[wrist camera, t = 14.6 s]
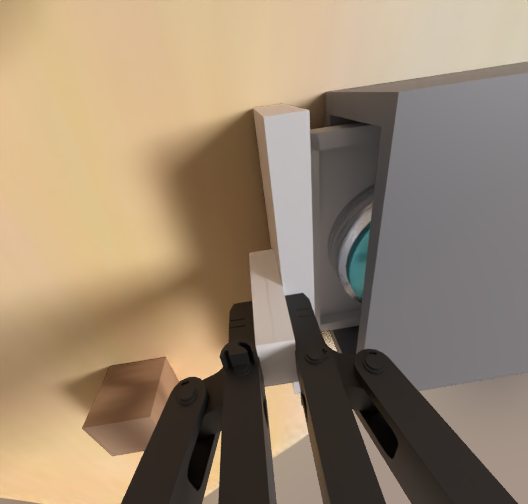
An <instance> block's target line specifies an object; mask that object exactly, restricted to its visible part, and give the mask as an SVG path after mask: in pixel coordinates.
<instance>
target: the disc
mask: <svg viewBox="0 0 528 504" xmlns="http://www.w3.org/2000/svg"><path fill="white" fill-rule="evenodd" d="M374 188H375V184H373V185H372V186H370V187H368V188H366V189H365V190H363V191H362V192H360V193H359V194H358V195H356V196H355V197H354V198H353V199H352V200H351V201H350V202H349V203H348V204H347V205H346V206H345V207H344V208H343V210H342V211H341V212H340V214H339V215H338V217H337V218H336V220H335V222H334V224H333V226H332V228H331V231H330V234H329V238H328V257H329V261H330V264H331V266H332V267H333V269H334V271H335V273H336V275H337V276H338V278H339V280H340V282H341V284H342V285H343V287H344V289H345V291H346V292H347V293H348V294H349V295H350V296H351V297H352V298H353V299H355V300H356V301H358V302H360V303H362V297H363V288H364V279H365V269H366V260H367V251H368V242H369V233H370V224H371V215H372V206H373V197H374Z"/></svg>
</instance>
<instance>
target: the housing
mask: <svg viewBox="0 0 528 504" xmlns="http://www.w3.org/2000/svg"><path fill="white" fill-rule="evenodd" d="M357 122H362V123H367V124H371V125H375V126H379V127H381V133H380V142H379V151H378V160H377V170H376V179H375V188H374V197H373V206H372V215H371V224H370V233H369V242H368V251H367V260H366V269H365V279H364V288H363V297H362V306H361V315H360V324H359V326H354V327H347V328H341V329H335V330H329V331H330V334H331V337H332V339H333V342H334V344H335V347H336V349H337V352H338V353H342V354H348V355H355V356H356V354H357V353H358V352H360V351H361V350H364V349H376V350H378V351H380V352H382V353H384V354H385V355H386V356H387V357H389V358H390V360H391V361H392V362H393V363H394V364H395V365H396V366H397V367H398V369H399V370H400V371H401V372H402V373H403V374H404V375H405V376H406V378H407V379H408V380H409V381H410V382H411V383H412V384H413V386H414V387H415V388H416V389H417V390H418V391H422V390H428V389H434V388H440V387H446V386H452V385H458V384H464V383H470V382H476V381H482V380H488V379H494V378H499V377H505V376H511V375H518V374H523V373H528V62H523V63H516V64H510V65H503V66H496V67H490V68H483V69H476V70H470V71H463V72H456V73H450V74H443V75H436V76H430V77H423V78H416V79H410V80H403V81H396V82H390V83H383V84H376V85H370V86H363V87H356V88H350V89H343V90H336V91H329V92H326V127H330V126H337V125H344V124H350V123H357Z"/></svg>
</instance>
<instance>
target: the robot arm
mask: <svg viewBox="0 0 528 504" xmlns="http://www.w3.org/2000/svg"><path fill="white" fill-rule="evenodd" d="M249 262H250V276H251V290H252V301H249V302H243V303H236V304H234V305H233V307H232V309H231V310H230V317H229V321H230V322H229V343H228V344H227V345H225V347H224V348H223V349H222V351H221V354H220V359H221V362H222V364H223V368H222V369H221V370H220V371H219V372H217V373H216V374H214V375H212V376H210V377H208V378H206V379H204V380H201V379H200V378H197V377H188V378H186V379H184V380H182V381H180V382H179V383H178V384H177V385H176V386H175V387H174V388H173V390H172V392H171V393H170V396H169V398H168V400H167V402H166V404H165V407H164V409H163V411H162V413H161V416H160V418H159V420H158V422H157V425H156V427H155V429H154V431H153V433H152V436H151V438H150V440H149V442H148V445H147V447H146V449H145V451H144V454H143V456H142V458H141V460H140V462H139V465H138V467H137V469H136V471H135V474H134V476H133V478H132V480H131V483H130V485H129V487H128V489H127V491H126V494H125V496H124V498H123V500H122V503H121V504H202V501H203V498H204V494H205V490H206V486H207V482H208V478H209V474H210V470H211V466H212V462H213V458H214V455H215V451H216V447H217V443H218V439H219V435H220V431H222V436H221V458H220V481H219V504H277V503H276V493H275V483H274V473H273V463H272V451H271V441H270V431H269V421H268V410H267V401H266V396H265V388H264V387H266V386H273V385H279V384H286V383H292V382H298V381H299V385H300V392H301V404H302V405H303V408H304V413H305V418H306V423H307V428H308V432H309V437H310V442H311V447H312V451H313V456H314V461H315V466H316V470H317V476H318V480H319V485H320V489H321V495H322V499H323V504H386V503H385V500H384V497H383V494H382V491H381V489H380V486H379V483H378V480H377V477H376V475H375V472H374V469H373V466H372V464H371V461H370V458H369V455H368V453H367V450H366V447H365V444H364V441H363V439H362V436H361V433H360V430H359V428H358V425H357V422H356V419H355V417H354V414H353V411H352V409H353V410H354V411H355V413H356V414H357V416H358V418H359V419H360V421H361V423H362V424H363V426H364V427H365V429H366V431H367V432H368V434H369V435H370V437H371V439H372V440H373V442H374V444H375V445H376V447H377V448H378V450H379V452H380V453H381V455H382V457H383V458H384V460H385V461H386V463H387V465H388V466H389V468H390V470H391V471H392V473H393V474H394V476H395V477H396V479H397V481H398V482H399V484H400V486H401V487H402V489H403V491H404V492H405V494H406V495H407V497H408V499H409V500H410V502H411V503H412V504H518V503H517V502H516V501H515V500H514V499H513V498H512V496H511V495H510V494H509V493H508V492H507V491H506V490H505V488H503V486H502V485H501V484H500V483H499V482H498V480H497V479H496V478H495V477H494V476H493V475H492V474H491V473H490V472H489V470H488V469H487V468H486V467H485V466H484V465H483V464H482V463H481V461H480V460H479V459H478V458H477V457H476V456H475V454H474V453H472V451H471V450H470V449H469V448H468V447H467V445H466V444H465V443H464V442H463V441H462V440H461V439H460V438H459V437H458V435H457V434H456V433H455V432H454V431H453V430H452V429H451V427H450V426H449V425H448V424H447V423H446V422H445V421H444V420H443V418H442V417H441V416H440V415H439V414H438V413H437V412H436V410H435V409H434V408H433V407H432V406H431V405H430V404H429V403H428V401H426V399H425V398H424V397H423V396H422V395H421V393H420V392H419V391H418V390H417V389H416V388H415V387H414V386H413V384H412V383H411V382H410V381H409V380H408V379H407V378H406V376H405V375H404V374H403V373H402V372H401V371H400V370H399V369H398V367H397V366H396V365H395V364H394V363H393V362H392V361H391V360H390V358H389V357H387V356H386V355H385V354H384V353H382V352H380V351H378V350H376V349H364V350H361V351H360V352H358V353H357V354H356V356H355V355H348V354H342V353H338V352H336V351H334V350H332V349H331V348H329V347H328V346H327V344H326V343H325V341H324V339H323V336H322V334H321V331H320V328H319V325H318V322H317V319H316V317H315V314H314V311H313V309H312V305H311V302H310V299H309V298H308V297H307V296H306V295H305V294H304V293H298V294H291V295H284V291H283V287H282V283H281V278H280V274H279V270H278V265H277V261H276V257H275V253H274V249H269V250H263V251H256V252H250V253H249Z"/></svg>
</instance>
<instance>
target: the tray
mask: <svg viewBox="0 0 528 504" xmlns="http://www.w3.org/2000/svg"><path fill="white" fill-rule="evenodd" d="M253 112H254V120H255V127H256V135H257V143H258V151H259V158H260V166H261V174H262V181H263V189H264V197H265V204H266V212H267V220H268V228H269V235H270V243H271V249H274V253H275V257H276V261H277V265H278V270H279V274H280V278H281V283H282V287H283V291H284V295H291V294H298V293H304V294H305V295H306V296H307V297H308V298H309V299H310V302H311V305H312V309H313V311H314V314H315V317H316V319H317V322H318V325H319V328H320V331H321V332H323V331H329V330H335V329H341V328H347V327H354V326H359V324H360V315H361V306H362V303H360V302H358V301H356V300H355V299H353V298H352V297H351V296H350V295H349V294H348V293H347V292H346V291H345V289H344V287H343V285H342V284H341V282H340V280H339V278H338V276H337V275H336V273H335V271H334V269H333V267H332V266H331V264H330V261H329V257H328V238H329V234H330V231H331V228H332V226H333V224H334V222H335V220H336V218H337V217H338V215H339V214H340V212H341V211H342V210H343V208H344V207H345V206H346V205H347V204H348V203H349V202H350V201H351V200H352V199H353V198H354V197H355V196H356V195H358V194H359V193H360V192H362V191H363V190H365V189H366V188H368V187H370V186H372V185H373V184H375V179H376V170H377V160H378V151H379V142H380V133H381V127H379V126H375V125H371V124H367V123H362V122H357V123H350V124H344V125H337V126H330V127H324V128H317V129H311V130H310V110H307V109H303V108H299V107H295V106H291V105H286V104H282V103H281V104H274V105H268V106H261V107H254V108H253ZM292 383H293V388H294V393H295V394H298V393H301V392H300V385H299V381H298V382H292Z"/></svg>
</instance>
